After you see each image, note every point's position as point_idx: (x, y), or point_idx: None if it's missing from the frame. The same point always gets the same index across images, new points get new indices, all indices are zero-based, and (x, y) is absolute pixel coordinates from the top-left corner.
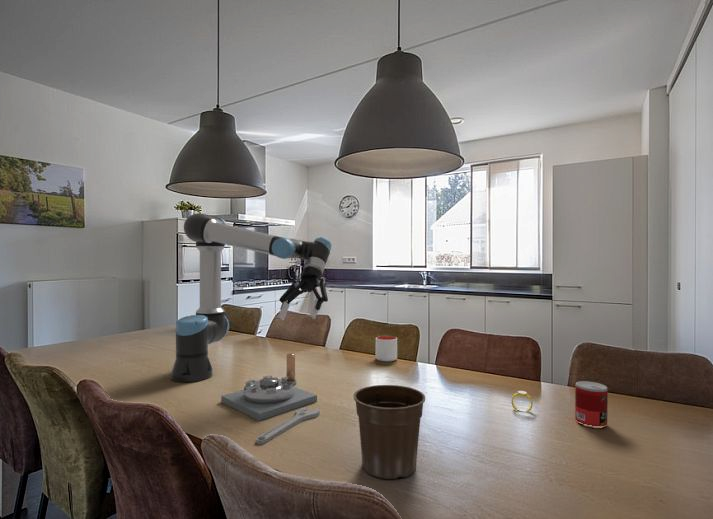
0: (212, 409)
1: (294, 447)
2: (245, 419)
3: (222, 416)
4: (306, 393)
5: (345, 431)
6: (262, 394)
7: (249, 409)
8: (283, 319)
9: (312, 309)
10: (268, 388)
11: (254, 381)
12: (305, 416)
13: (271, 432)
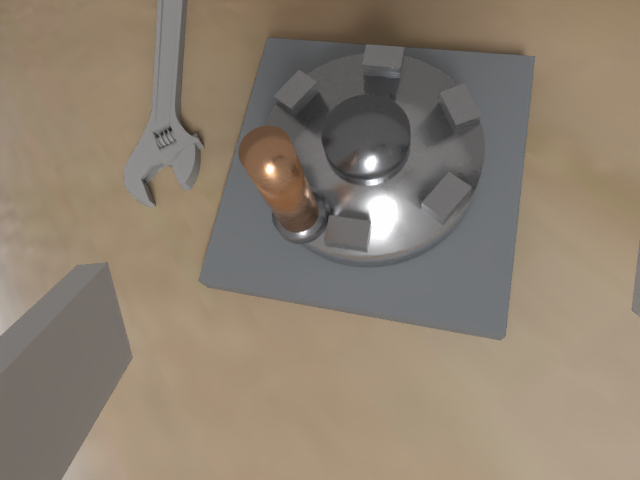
0: (485, 18)
1: (87, 11)
2: (318, 35)
3: (401, 8)
4: (249, 271)
5: (8, 143)
6: (315, 69)
7: (326, 42)
8: (636, 300)
9: (46, 308)
10: (310, 87)
11: (454, 125)
12: (146, 130)
13: (174, 11)
